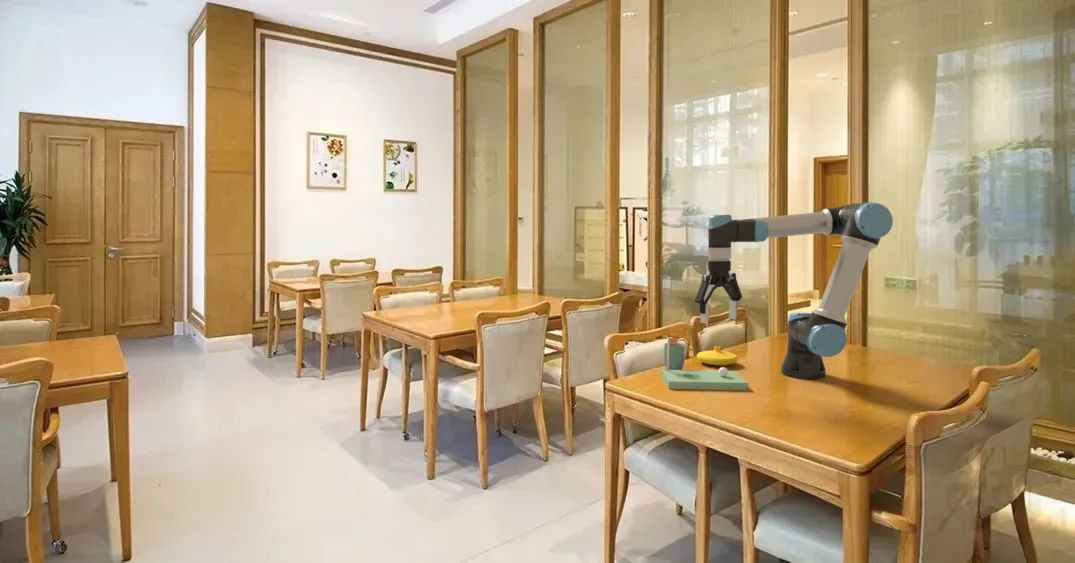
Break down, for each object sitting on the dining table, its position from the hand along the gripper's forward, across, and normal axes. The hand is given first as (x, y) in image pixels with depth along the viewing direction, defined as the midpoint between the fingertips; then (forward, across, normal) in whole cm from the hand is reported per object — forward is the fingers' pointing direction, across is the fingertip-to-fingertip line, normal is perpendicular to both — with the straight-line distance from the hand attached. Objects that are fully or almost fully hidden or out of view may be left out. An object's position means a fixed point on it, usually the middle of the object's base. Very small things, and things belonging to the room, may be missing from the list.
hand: (718, 321), depth 208 cm
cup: (+22, +2, -20) cm, 30 cm away
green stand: (+22, +5, -2) cm, 22 cm away
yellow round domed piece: (+22, -21, -20) cm, 37 cm away
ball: (+18, -1, +2) cm, 18 cm away
